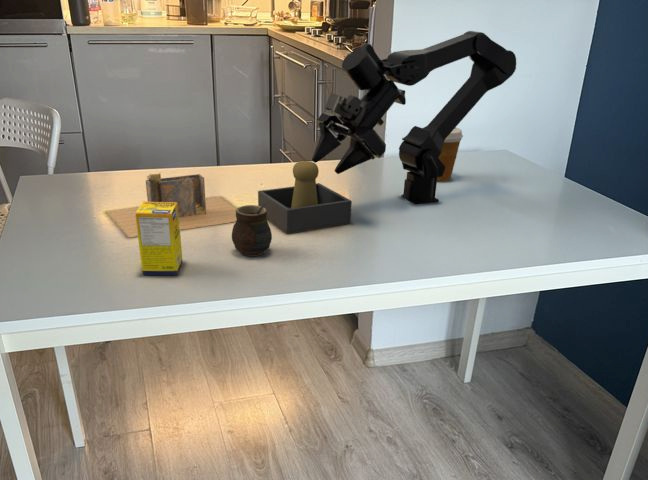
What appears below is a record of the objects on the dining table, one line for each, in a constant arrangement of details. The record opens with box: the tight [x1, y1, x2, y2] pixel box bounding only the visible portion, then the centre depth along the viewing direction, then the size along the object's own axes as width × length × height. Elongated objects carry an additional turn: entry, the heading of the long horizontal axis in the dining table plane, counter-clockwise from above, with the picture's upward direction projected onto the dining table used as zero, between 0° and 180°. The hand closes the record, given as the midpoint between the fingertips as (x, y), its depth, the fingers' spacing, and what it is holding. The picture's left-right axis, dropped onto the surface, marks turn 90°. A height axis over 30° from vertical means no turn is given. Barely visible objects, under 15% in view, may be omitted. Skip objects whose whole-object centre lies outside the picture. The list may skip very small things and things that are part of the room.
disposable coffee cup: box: [437, 127, 464, 182], centre depth 166 cm, size 10×10×12 cm
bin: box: [257, 182, 353, 235], centre depth 139 cm, size 15×14×5 cm
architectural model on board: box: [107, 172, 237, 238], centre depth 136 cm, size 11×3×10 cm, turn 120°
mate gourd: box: [231, 204, 273, 257], centre depth 120 cm, size 7×8×10 cm
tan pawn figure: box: [291, 160, 320, 208], centre depth 137 cm, size 6×6×11 cm
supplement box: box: [136, 201, 183, 276], centre depth 112 cm, size 6×6×11 cm
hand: (324, 166), depth 137 cm, fingers open, 9 cm apart
